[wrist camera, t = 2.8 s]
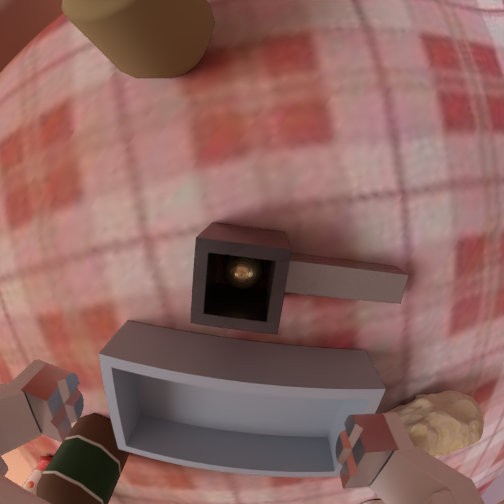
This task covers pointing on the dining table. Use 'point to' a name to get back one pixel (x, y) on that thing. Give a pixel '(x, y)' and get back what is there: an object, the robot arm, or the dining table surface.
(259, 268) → the ball stud
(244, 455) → the bin
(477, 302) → the dining table surface
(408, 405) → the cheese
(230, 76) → the dining table surface
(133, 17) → the squeeze bottle
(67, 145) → the dining table surface
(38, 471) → the liquor
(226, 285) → the square brown scoop
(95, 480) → the beer bottle
